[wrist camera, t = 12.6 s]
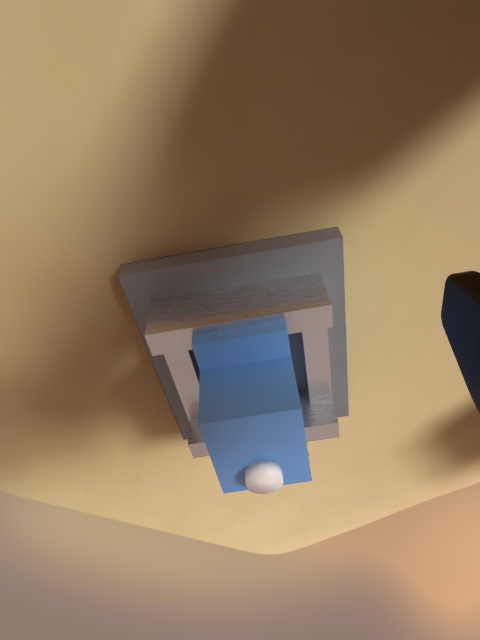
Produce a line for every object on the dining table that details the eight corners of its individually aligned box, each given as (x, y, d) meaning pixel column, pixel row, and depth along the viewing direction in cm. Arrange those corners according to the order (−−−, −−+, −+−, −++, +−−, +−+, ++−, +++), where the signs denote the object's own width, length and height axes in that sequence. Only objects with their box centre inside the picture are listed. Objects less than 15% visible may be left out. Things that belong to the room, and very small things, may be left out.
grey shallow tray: (337, 226, 20) (357, 268, 17) (344, 402, 28) (359, 451, 25) (121, 265, 21) (107, 311, 18) (184, 426, 28) (181, 476, 26)
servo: (278, 286, 21) (300, 393, 16) (296, 400, 26) (316, 510, 21) (193, 301, 21) (187, 411, 16) (226, 411, 26) (230, 522, 21)
